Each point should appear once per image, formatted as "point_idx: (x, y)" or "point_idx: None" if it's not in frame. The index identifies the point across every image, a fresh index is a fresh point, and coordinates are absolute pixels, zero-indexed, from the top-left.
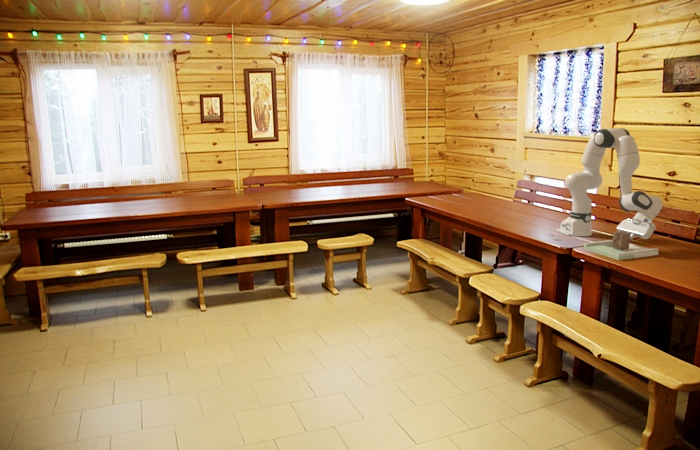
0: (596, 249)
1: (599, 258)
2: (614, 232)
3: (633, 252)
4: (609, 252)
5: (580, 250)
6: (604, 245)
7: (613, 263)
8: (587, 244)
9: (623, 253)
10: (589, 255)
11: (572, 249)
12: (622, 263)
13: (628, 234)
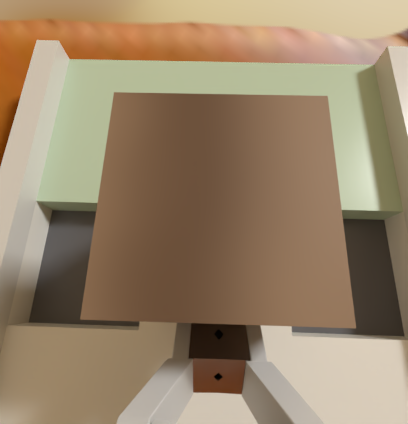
0: (265, 65)
1: (158, 30)
2: (300, 101)
3: (1, 177)
4: (158, 82)
5: (359, 58)
6: (359, 210)
7: (44, 23)
8: (384, 65)
9: (27, 78)
10: (236, 28)
11: (396, 36)
12: (12, 61)
13: (99, 259)
